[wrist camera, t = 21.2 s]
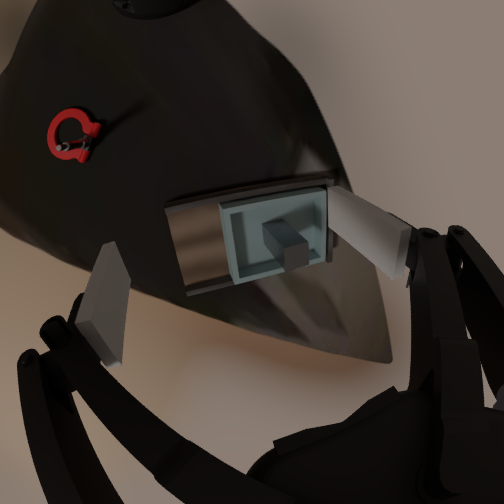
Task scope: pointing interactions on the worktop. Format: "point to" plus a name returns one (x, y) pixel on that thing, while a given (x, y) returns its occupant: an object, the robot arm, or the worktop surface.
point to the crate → (266, 210)
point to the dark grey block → (286, 244)
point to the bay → (221, 231)
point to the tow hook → (73, 148)
